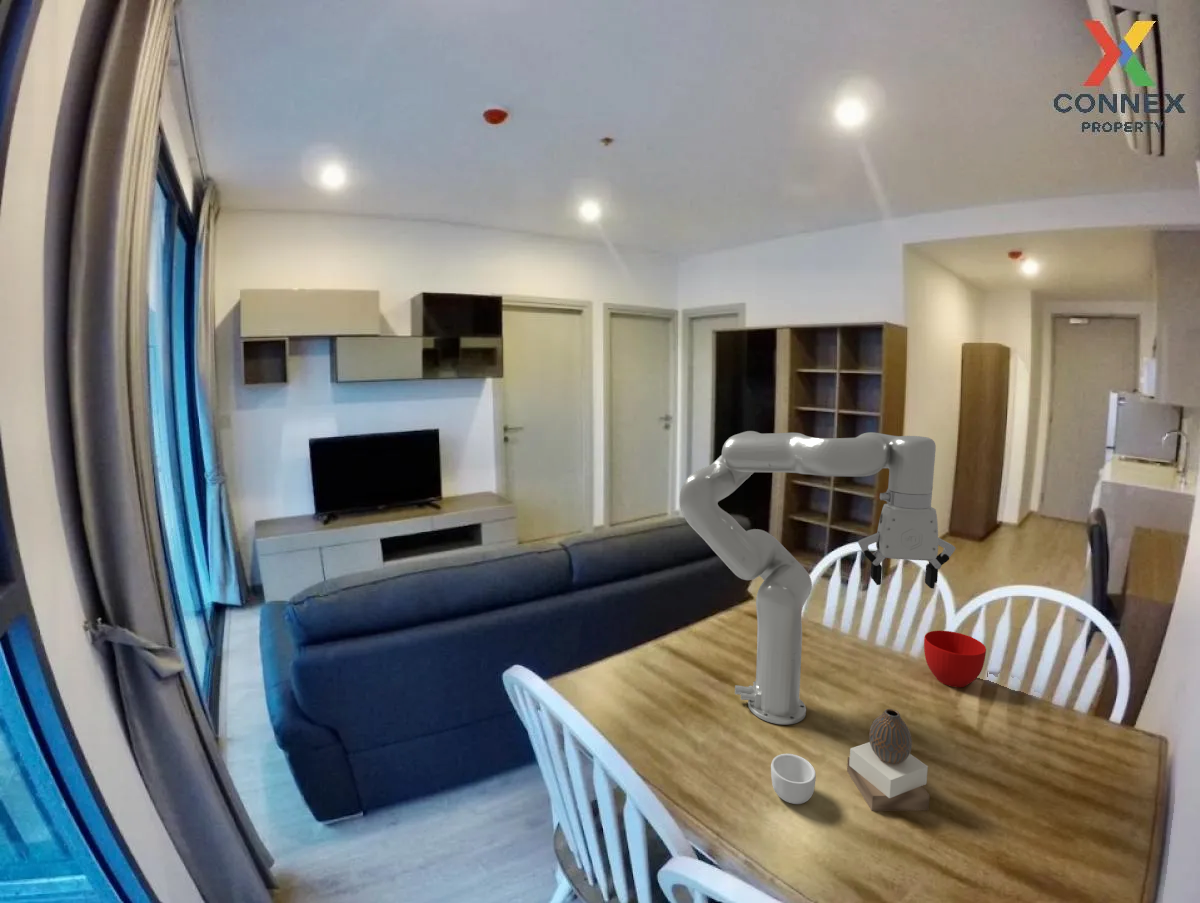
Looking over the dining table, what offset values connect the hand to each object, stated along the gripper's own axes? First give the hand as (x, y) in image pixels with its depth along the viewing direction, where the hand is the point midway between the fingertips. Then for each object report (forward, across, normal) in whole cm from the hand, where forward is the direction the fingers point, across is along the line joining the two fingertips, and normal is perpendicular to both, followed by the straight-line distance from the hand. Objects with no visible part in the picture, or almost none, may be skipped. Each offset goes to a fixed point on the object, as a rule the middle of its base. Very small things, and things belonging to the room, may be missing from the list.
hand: (902, 584), depth 114 cm
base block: (+35, -5, -14) cm, 38 cm away
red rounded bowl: (+34, +23, +30) cm, 51 cm away
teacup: (+35, -22, -18) cm, 45 cm away
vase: (+28, -5, -14) cm, 32 cm away
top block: (+31, -5, -14) cm, 35 cm away
